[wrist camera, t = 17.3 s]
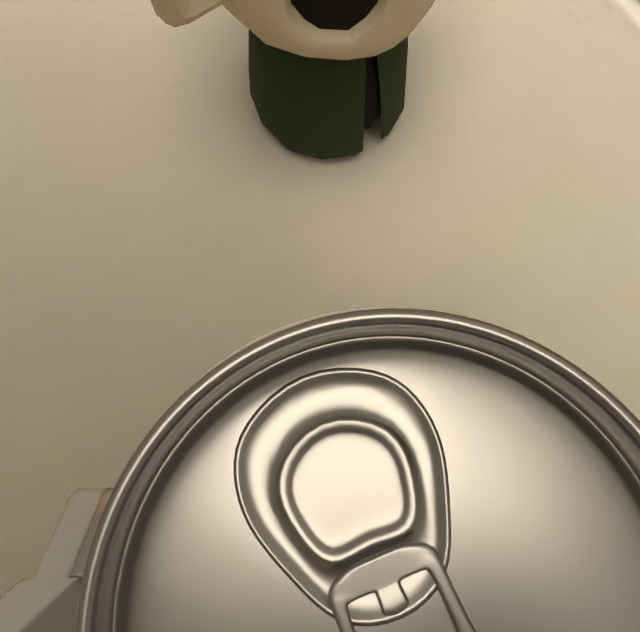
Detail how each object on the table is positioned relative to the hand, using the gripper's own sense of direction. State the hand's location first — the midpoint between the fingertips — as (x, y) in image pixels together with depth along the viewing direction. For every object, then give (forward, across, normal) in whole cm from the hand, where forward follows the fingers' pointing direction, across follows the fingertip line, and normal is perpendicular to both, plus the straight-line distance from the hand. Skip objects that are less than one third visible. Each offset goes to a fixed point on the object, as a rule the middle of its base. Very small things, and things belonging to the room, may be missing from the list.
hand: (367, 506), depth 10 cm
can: (+5, 0, +6) cm, 7 cm away
